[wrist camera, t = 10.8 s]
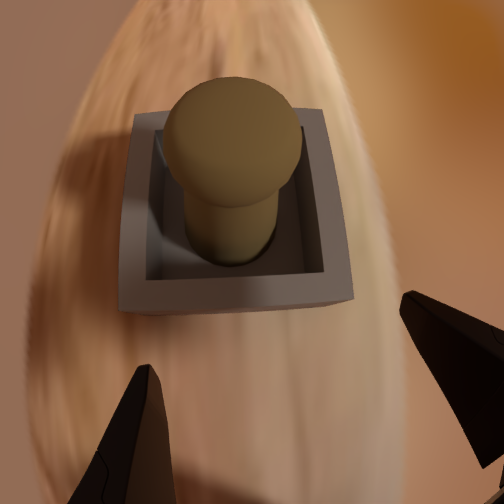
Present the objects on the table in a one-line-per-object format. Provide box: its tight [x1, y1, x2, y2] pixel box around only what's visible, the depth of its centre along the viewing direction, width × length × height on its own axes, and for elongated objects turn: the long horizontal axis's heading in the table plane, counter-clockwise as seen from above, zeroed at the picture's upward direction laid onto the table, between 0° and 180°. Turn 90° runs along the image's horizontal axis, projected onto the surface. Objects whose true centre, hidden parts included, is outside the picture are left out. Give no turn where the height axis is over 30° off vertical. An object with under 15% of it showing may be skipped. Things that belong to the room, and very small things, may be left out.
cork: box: [163, 77, 302, 267], centre depth 15 cm, size 6×6×11 cm
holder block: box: [118, 108, 354, 315], centre depth 19 cm, size 12×12×5 cm
